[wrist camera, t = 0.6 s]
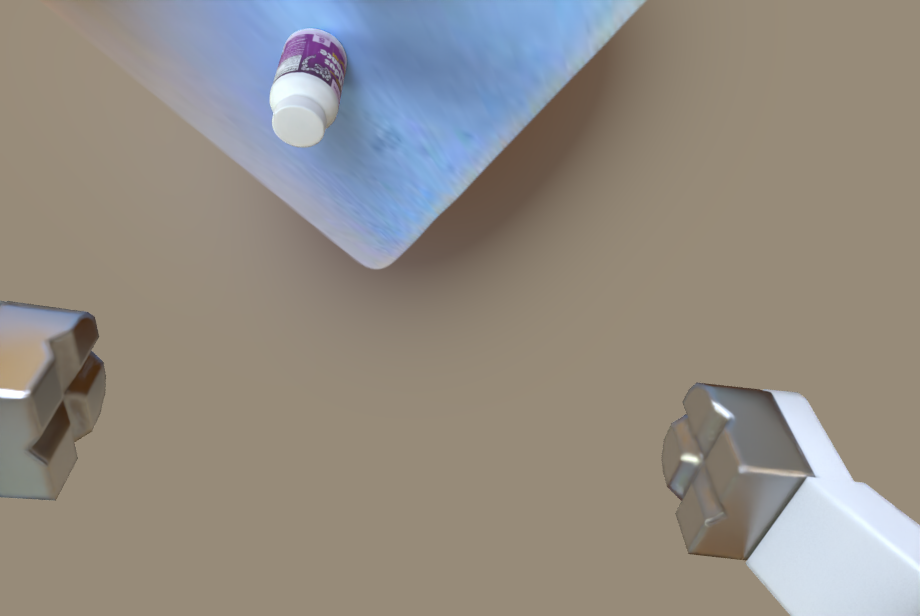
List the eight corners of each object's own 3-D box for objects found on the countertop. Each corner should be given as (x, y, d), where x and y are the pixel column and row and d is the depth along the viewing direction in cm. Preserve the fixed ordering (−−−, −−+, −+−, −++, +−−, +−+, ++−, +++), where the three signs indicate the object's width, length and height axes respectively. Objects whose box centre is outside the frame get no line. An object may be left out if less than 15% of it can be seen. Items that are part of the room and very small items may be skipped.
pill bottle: (361, 59, 61) (348, 134, 55) (317, 91, 63) (301, 165, 57) (314, 12, 57) (295, 86, 51) (270, 48, 60) (247, 122, 54)
